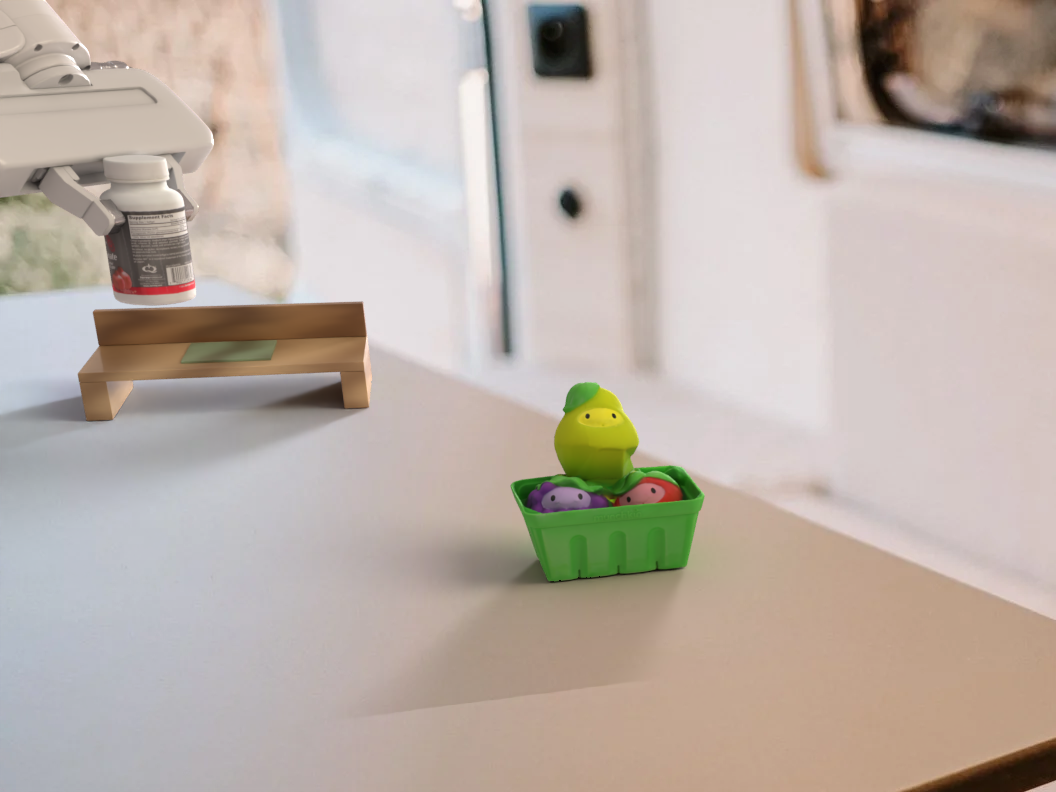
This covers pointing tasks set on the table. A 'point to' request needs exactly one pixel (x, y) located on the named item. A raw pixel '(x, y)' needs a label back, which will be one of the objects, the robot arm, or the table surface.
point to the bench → (225, 347)
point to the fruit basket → (606, 498)
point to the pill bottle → (147, 234)
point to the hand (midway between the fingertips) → (151, 223)
